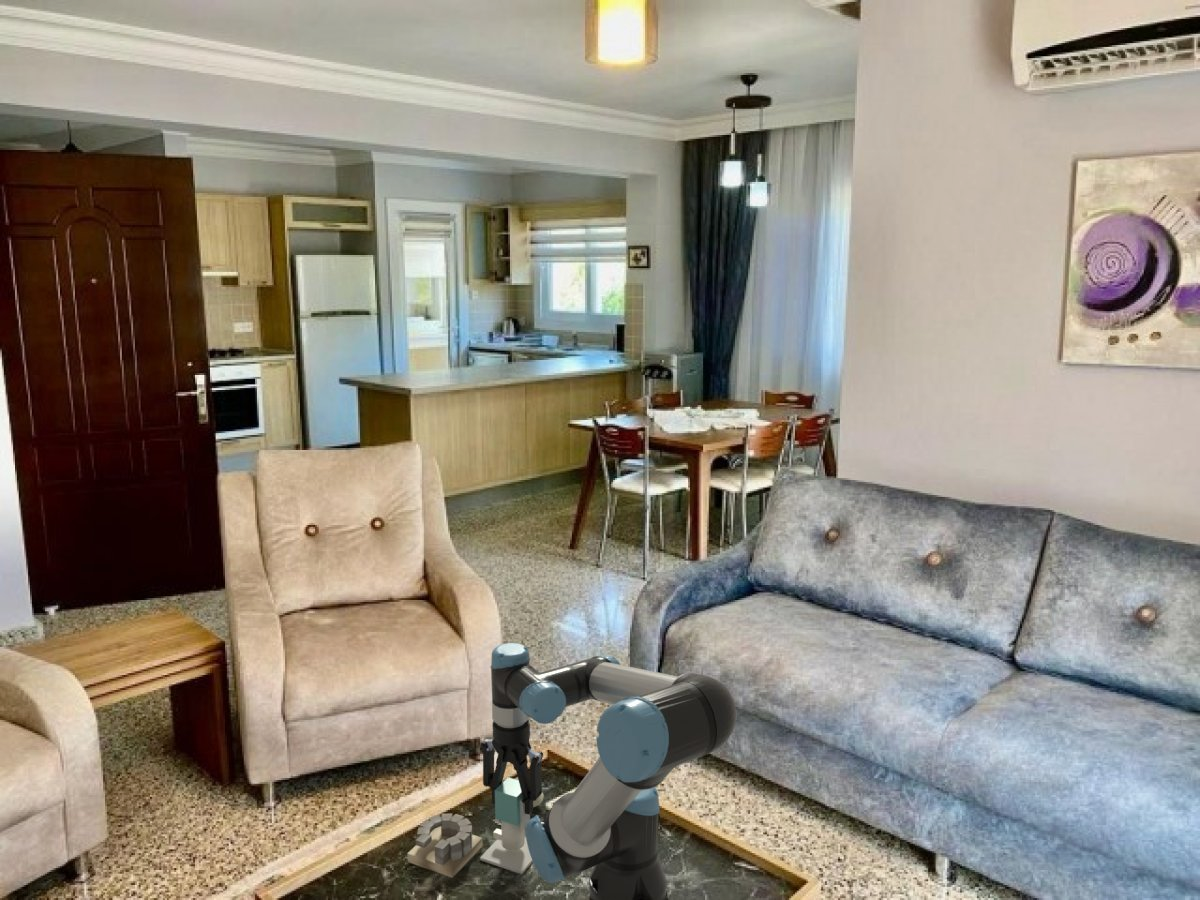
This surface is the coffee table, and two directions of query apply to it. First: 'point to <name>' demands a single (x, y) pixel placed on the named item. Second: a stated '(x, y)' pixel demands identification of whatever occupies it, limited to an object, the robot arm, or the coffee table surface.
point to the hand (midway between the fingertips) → (512, 821)
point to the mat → (508, 857)
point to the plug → (509, 815)
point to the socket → (444, 844)
